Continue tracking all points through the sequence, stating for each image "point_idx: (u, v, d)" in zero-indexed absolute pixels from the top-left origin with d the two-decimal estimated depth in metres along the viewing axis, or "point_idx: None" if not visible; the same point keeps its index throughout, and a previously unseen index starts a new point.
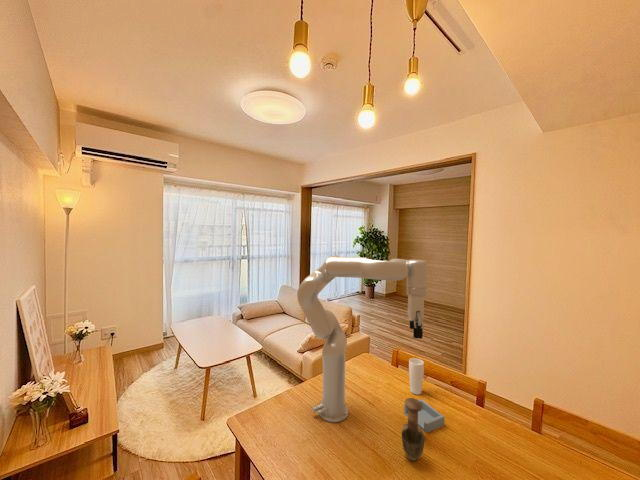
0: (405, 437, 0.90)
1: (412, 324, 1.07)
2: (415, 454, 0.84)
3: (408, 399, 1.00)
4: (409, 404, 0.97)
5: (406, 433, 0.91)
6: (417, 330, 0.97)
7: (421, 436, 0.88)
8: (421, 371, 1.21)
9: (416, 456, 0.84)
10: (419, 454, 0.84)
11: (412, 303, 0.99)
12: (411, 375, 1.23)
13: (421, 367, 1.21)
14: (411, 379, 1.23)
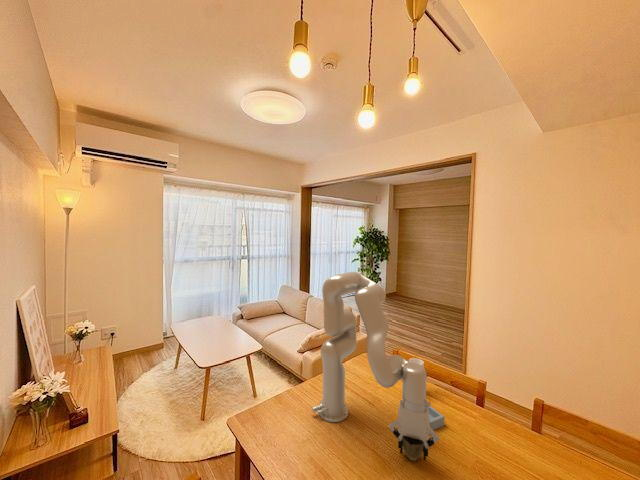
0: (405, 437, 0.90)
1: (423, 449, 0.87)
2: (415, 454, 0.84)
3: None
4: None
5: None
6: None
7: None
8: None
9: (416, 456, 0.84)
10: (419, 454, 0.84)
11: None
12: None
13: None
14: None
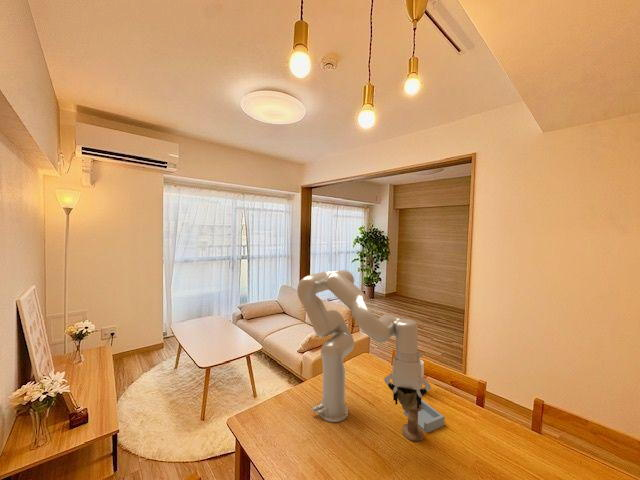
0: (399, 389, 0.95)
1: None
2: (409, 403, 0.89)
3: None
4: None
5: None
6: None
7: None
8: None
9: (410, 404, 0.89)
10: (413, 402, 0.89)
11: None
12: None
13: (421, 367, 1.21)
14: None
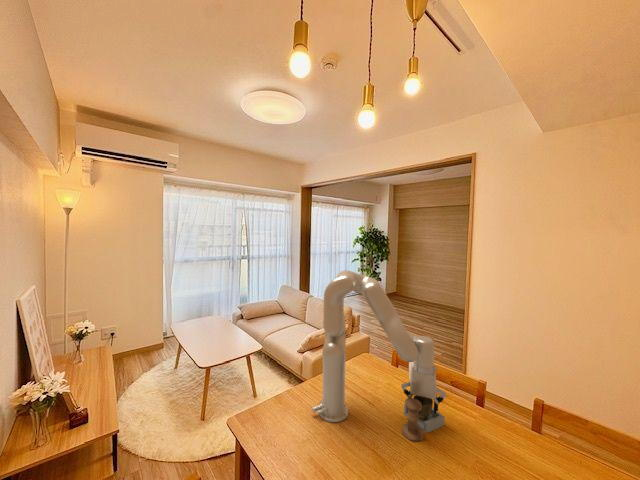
0: None
1: None
2: (425, 413, 1.02)
3: (408, 399, 1.00)
4: (409, 404, 0.97)
5: (417, 398, 1.09)
6: None
7: (430, 399, 1.07)
8: None
9: (426, 414, 1.03)
10: (428, 413, 1.03)
11: None
12: None
13: None
14: None
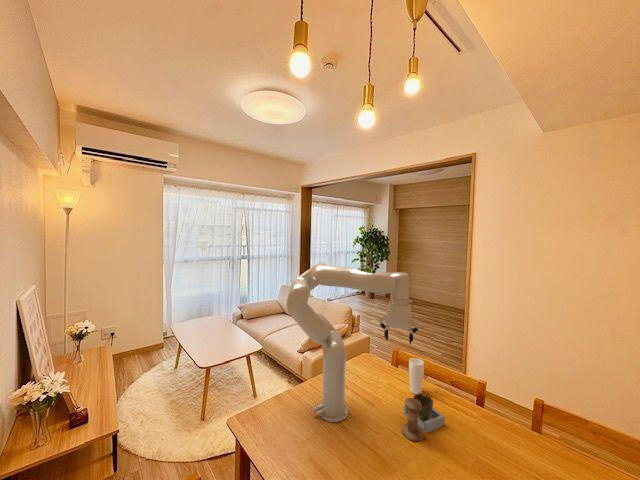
0: None
1: None
2: (425, 413, 1.02)
3: (408, 399, 1.00)
4: (409, 404, 0.97)
5: (417, 398, 1.09)
6: None
7: (430, 400, 1.07)
8: (421, 371, 1.21)
9: (426, 415, 1.03)
10: (428, 413, 1.03)
11: None
12: (411, 375, 1.23)
13: (421, 367, 1.21)
14: (411, 379, 1.23)
